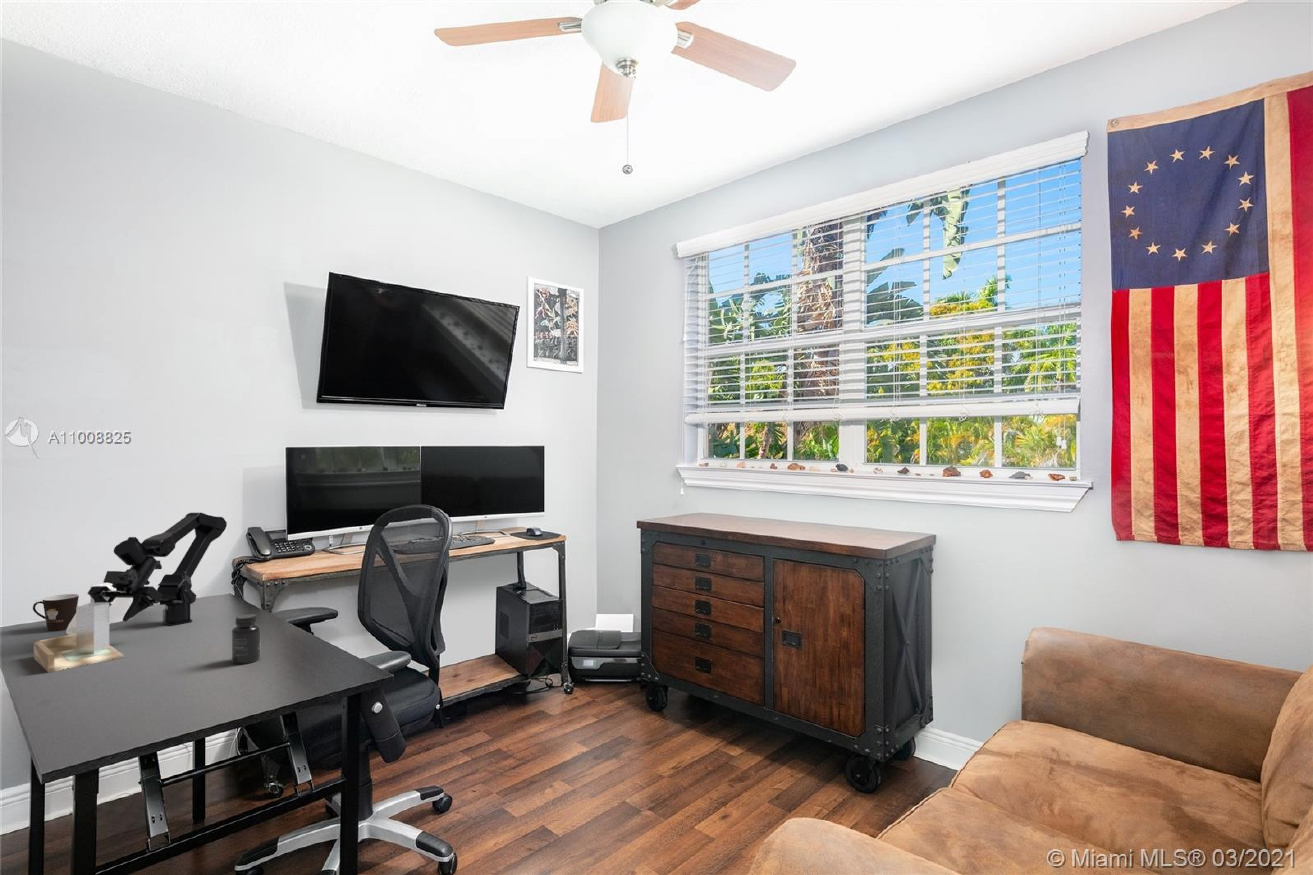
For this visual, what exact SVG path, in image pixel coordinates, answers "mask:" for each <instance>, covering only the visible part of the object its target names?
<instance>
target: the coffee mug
mask: <svg viewBox="0 0 1313 875" xmlns="http://www.w3.org/2000/svg"><path fill="white" fill-rule="evenodd" d="M79 597H80V595H79V594H78V593H65V594H64V593H63V594H57V595H52V596H47V597H46V596H45V597H43V598H42V600H40V601H36V602H34V603H33V606H32V611H33V612H34V614H36V615H37V616H38V617H40V618H42V619H44V620H45V623H46V630H47V632H53V633H54V632H62V631H63V632H64V631H66V630H67V628H68V625H69V624H70V622H71V620H72V619H73V617H74V616H75V614H76V607H77V606H79V605H78V603H79ZM38 604H42V605H43V611H44V615H43V614H41V613H39V612H38V610H37V609H36V607H37V605H38Z"/></svg>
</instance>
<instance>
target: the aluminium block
mask: <svg viewBox="0 0 1313 875" xmlns="http://www.w3.org/2000/svg"><path fill="white" fill-rule="evenodd" d="M109 645H110V624H109V602H92V603H91V602H88V603H85V604H81V605H77V607H76V654H95V653H98V652H100V651H103V650H106V649H109Z"/></svg>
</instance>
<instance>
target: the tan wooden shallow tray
mask: <svg viewBox="0 0 1313 875" xmlns="http://www.w3.org/2000/svg"><path fill="white" fill-rule="evenodd" d="M67 635H68V634H67ZM124 656H125V655H124V654H123V653H122V652H120V651H119V650H117V649H116V648H114V647H113V646H112V645H111V644H109V649H106V650H103V651H100V652H98V653H95V654H76V634H74V635H68V636H66V635H64V636H58V637H51V638H47V639H46V638H45V639H40V640H36V641H35V640H34V641H33V659H34V660H35V661H36V662H37V664H39V665H40V666H41V667H42V669H44V670H45V672H47V673H48V674H49V673H53V672H59V671H63V669H64V670H68V669H67V668H69V669H74V668H78V667H83V666H88V665H92V664H97V663H102V662H106V661H111V660H112V659H113V660H117V659H122V658H124ZM87 664H88V665H87Z"/></svg>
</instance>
